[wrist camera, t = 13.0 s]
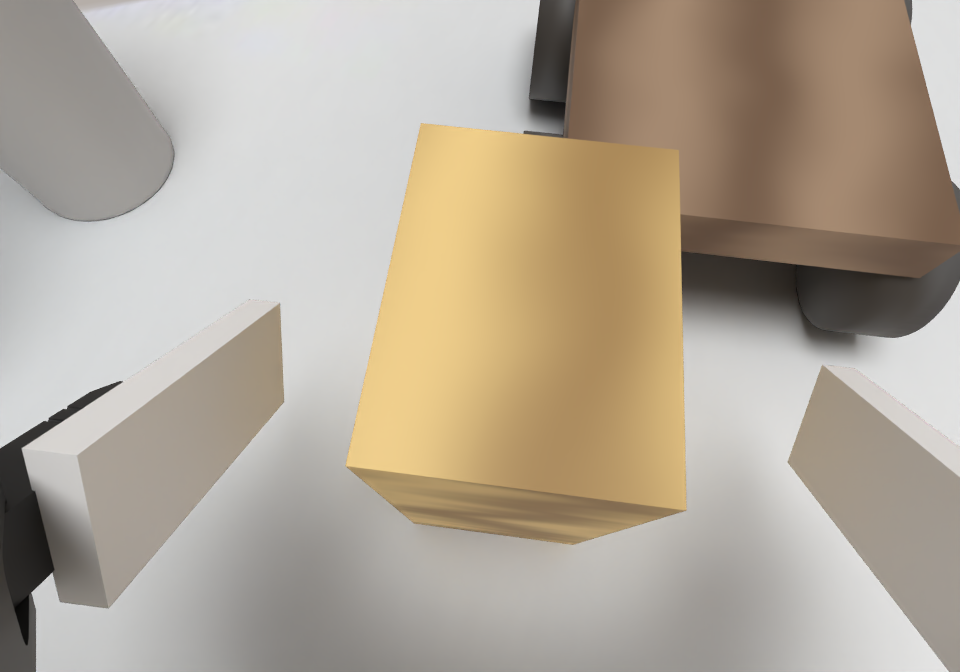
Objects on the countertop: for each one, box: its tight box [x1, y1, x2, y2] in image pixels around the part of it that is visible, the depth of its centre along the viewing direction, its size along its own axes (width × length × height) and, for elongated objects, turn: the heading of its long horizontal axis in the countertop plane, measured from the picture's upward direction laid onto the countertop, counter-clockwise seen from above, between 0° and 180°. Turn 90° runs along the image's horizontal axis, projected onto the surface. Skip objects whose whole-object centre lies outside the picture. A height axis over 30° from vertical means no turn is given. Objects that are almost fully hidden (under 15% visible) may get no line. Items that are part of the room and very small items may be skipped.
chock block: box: [345, 123, 686, 545], centre depth 17 cm, size 6×8×12 cm
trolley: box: [524, 0, 960, 338], centre depth 24 cm, size 15×17×8 cm
